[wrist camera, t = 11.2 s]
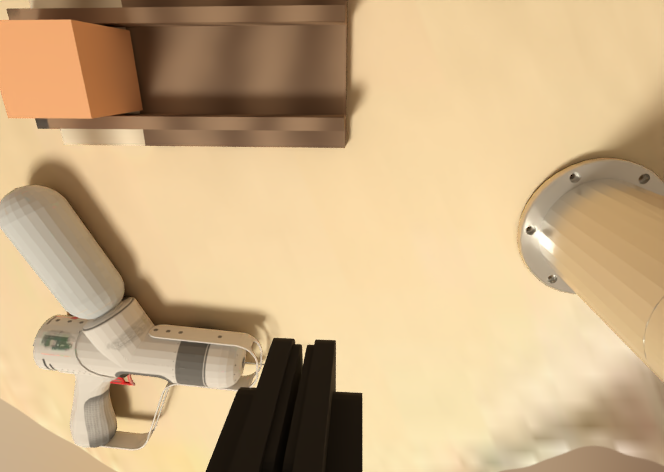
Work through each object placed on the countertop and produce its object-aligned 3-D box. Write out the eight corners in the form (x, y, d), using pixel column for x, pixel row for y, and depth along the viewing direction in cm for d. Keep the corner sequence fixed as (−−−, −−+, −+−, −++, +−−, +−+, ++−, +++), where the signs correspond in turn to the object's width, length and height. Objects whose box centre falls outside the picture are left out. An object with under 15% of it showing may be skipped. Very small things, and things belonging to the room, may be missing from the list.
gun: (72, 414, 50) (24, 175, 39) (304, 439, 49) (321, 203, 38) (39, 454, 45) (-29, 191, 34) (297, 483, 44) (316, 224, 33)
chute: (347, -14, 31) (345, -24, 28) (345, 145, 35) (343, 153, 32) (35, -9, 33) (-1, -18, 29) (71, 142, 37) (43, 149, 34)
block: (129, 30, 32) (70, 19, 25) (142, 110, 34) (91, 118, 28) (57, 31, 32) (-20, 20, 26) (74, 109, 35) (8, 118, 28)
